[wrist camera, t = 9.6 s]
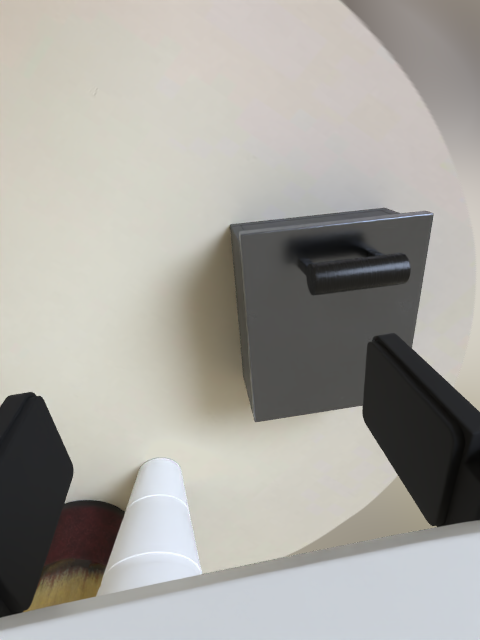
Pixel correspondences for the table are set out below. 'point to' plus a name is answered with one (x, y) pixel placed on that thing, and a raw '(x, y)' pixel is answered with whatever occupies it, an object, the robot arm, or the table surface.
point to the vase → (78, 553)
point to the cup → (153, 532)
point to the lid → (327, 306)
